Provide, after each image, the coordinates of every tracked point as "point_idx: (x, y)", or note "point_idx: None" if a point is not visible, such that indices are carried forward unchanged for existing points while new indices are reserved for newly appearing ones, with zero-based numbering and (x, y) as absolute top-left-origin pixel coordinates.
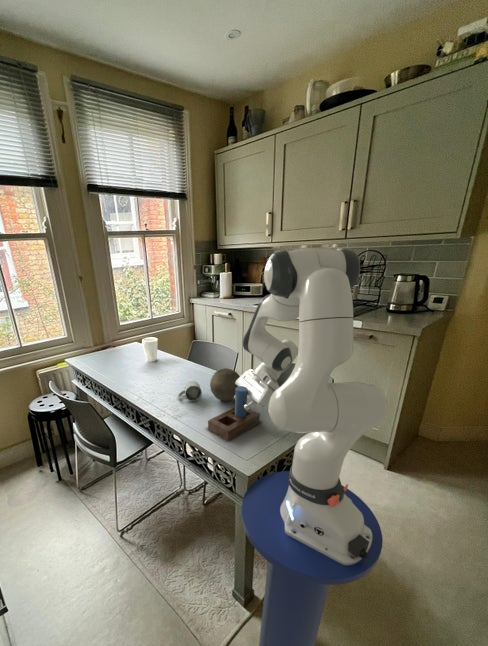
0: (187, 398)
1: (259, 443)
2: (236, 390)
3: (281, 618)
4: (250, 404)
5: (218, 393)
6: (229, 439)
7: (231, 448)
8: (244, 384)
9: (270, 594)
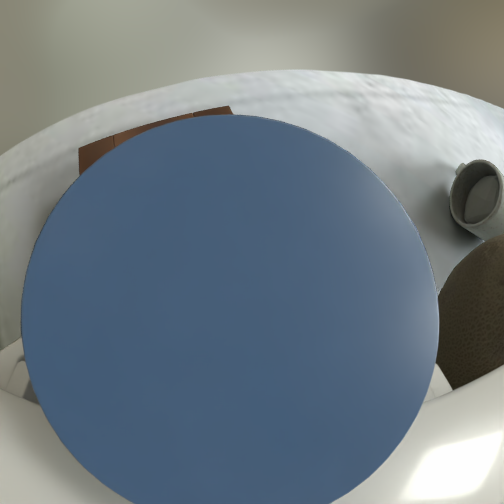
0: (456, 178)
1: (17, 299)
2: (233, 126)
3: None
4: None
5: (462, 264)
6: None
7: (53, 171)
8: (451, 479)
9: None
